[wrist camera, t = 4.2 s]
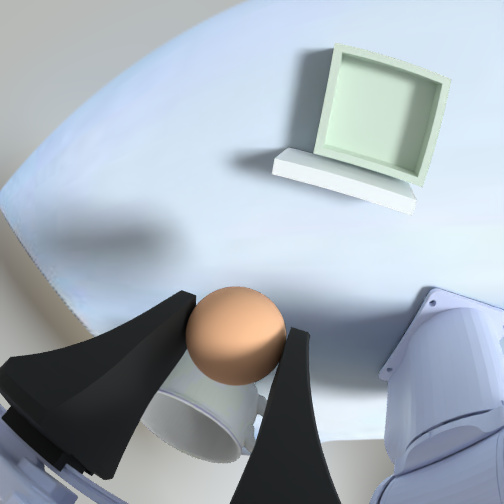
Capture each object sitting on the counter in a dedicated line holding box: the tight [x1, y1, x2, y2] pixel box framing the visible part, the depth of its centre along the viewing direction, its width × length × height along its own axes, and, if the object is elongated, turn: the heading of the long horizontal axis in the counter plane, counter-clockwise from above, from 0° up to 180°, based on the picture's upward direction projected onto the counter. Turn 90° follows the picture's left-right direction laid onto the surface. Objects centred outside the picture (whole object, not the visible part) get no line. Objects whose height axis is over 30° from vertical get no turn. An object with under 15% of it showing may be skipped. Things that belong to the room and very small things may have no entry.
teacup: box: [140, 349, 267, 463], centre depth 25 cm, size 14×11×8 cm
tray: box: [313, 43, 451, 187], centre depth 13 cm, size 6×6×2 cm
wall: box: [272, 147, 417, 216], centre depth 15 cm, size 1×7×3 cm, turn 83°
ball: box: [186, 287, 286, 386], centre depth 11 cm, size 4×4×4 cm
